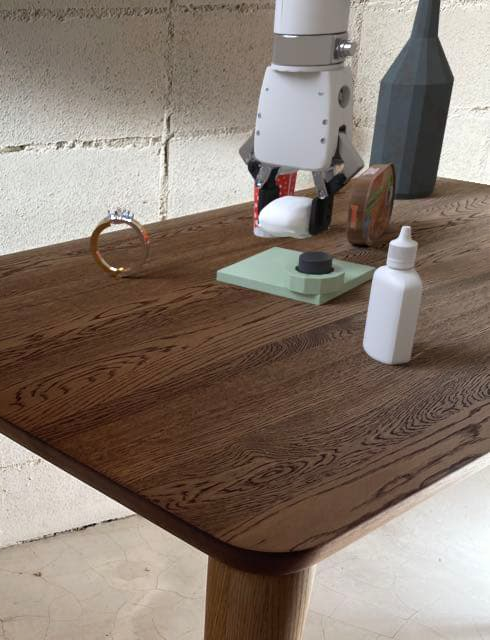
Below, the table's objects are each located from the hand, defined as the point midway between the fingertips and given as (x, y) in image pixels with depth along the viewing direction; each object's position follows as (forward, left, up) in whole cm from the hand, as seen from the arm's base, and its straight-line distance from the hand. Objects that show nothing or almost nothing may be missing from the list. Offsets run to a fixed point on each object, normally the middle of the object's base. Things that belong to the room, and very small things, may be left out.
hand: (292, 225), depth 102 cm
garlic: (0, 0, -1) cm, 1 cm away
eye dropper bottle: (-21, +15, -6) cm, 26 cm away
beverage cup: (+11, -12, -6) cm, 18 cm away
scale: (-2, +2, -6) cm, 6 cm away
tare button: (-6, +5, -3) cm, 9 cm away
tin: (0, -18, -6) cm, 19 cm away
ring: (+15, +14, -6) cm, 21 cm away
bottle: (+8, -42, -6) cm, 44 cm away
